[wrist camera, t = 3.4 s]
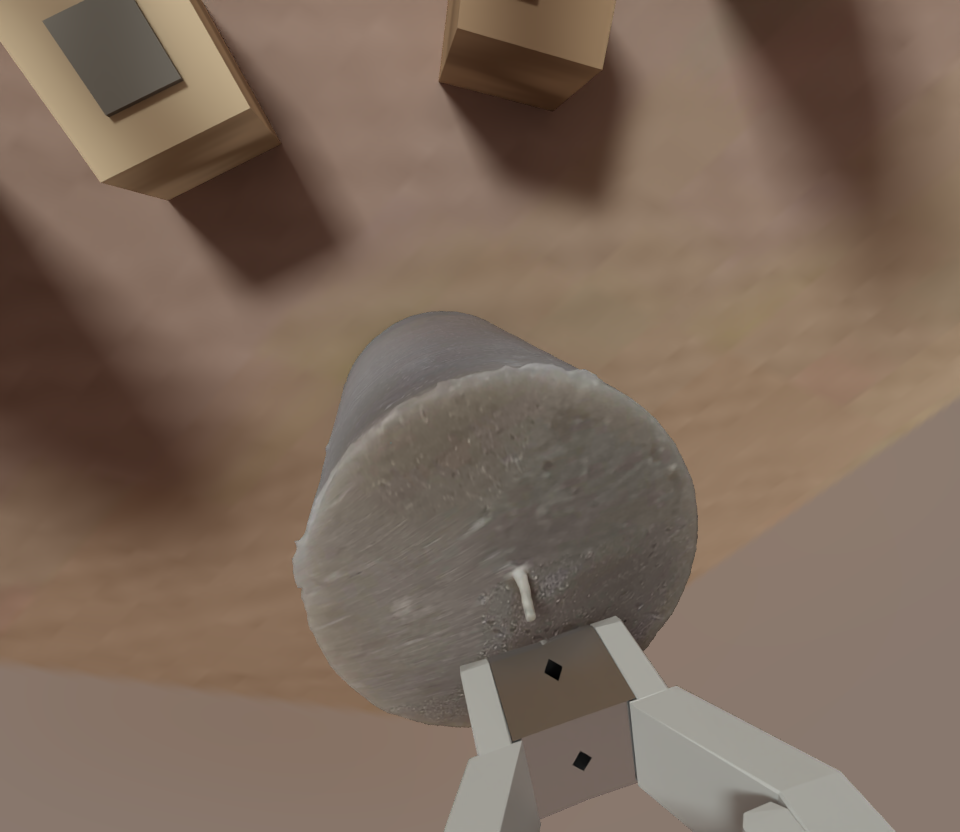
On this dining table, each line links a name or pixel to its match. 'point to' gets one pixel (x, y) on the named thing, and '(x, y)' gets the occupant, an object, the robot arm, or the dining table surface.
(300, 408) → the dining table surface
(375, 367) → the pillar candle
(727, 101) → the dining table surface
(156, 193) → the marked block beech
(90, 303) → the dining table surface
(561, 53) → the wooden cube
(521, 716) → the robot arm
